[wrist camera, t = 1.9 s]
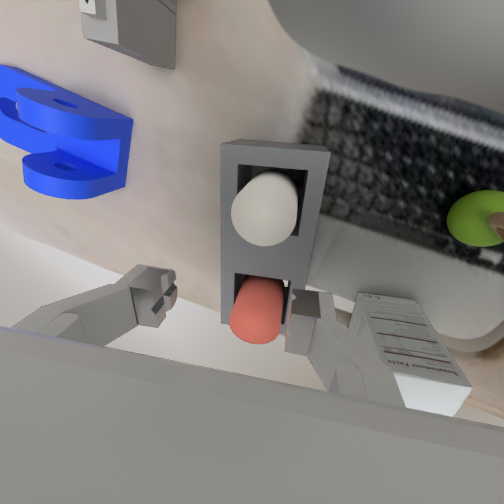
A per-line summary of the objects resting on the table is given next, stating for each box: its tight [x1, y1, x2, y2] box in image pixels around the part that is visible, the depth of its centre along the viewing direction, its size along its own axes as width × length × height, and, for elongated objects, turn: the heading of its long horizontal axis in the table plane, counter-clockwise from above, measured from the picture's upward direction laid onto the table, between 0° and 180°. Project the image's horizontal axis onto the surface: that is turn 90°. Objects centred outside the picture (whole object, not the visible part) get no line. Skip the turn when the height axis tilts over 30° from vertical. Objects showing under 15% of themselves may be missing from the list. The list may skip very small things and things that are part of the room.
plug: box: [231, 169, 298, 246], centre depth 22 cm, size 5×5×6 cm
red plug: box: [229, 275, 285, 344], centre depth 27 cm, size 5×5×6 cm
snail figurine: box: [447, 190, 504, 247], centre depth 21 cm, size 5×6×12 cm
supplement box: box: [348, 293, 473, 417], centre depth 29 cm, size 7×7×13 cm
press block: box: [221, 139, 331, 335], centre depth 28 cm, size 9×20×8 cm, turn 176°
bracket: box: [0, 64, 133, 199], centre depth 26 cm, size 18×8×9 cm, turn 68°
